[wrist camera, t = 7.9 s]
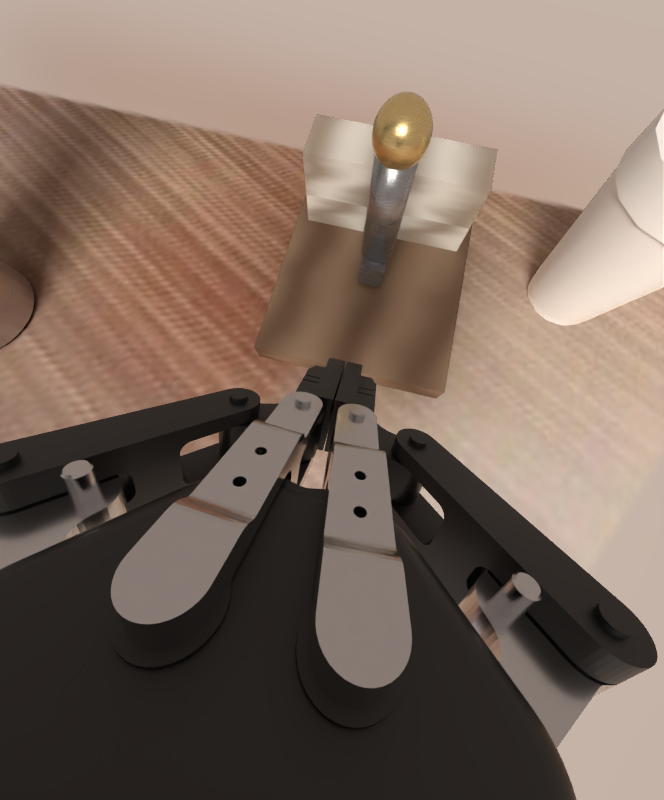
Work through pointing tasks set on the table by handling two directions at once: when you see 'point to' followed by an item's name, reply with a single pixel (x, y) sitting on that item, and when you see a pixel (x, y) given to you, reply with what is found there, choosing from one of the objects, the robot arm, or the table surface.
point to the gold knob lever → (392, 177)
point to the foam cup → (610, 241)
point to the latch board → (404, 273)
